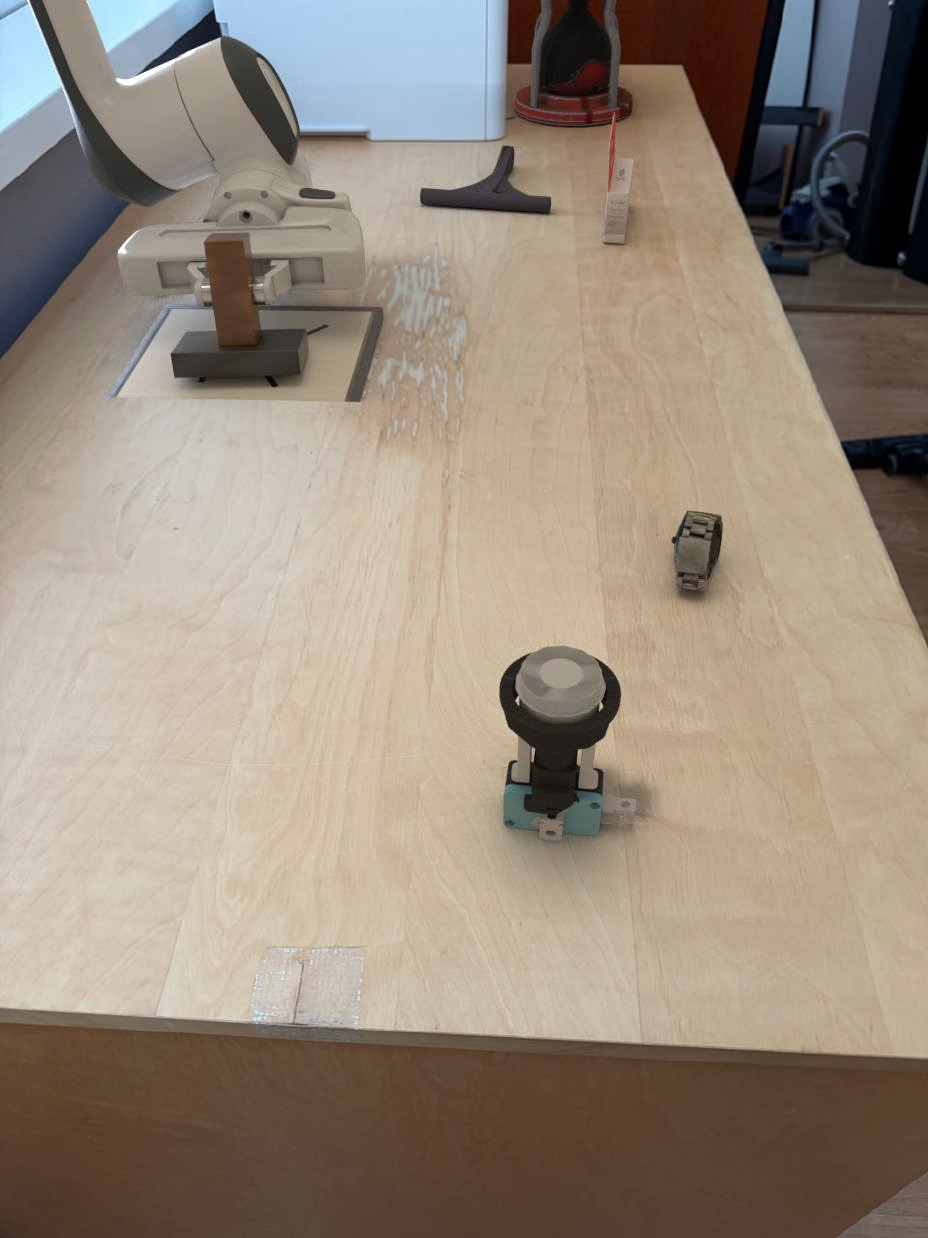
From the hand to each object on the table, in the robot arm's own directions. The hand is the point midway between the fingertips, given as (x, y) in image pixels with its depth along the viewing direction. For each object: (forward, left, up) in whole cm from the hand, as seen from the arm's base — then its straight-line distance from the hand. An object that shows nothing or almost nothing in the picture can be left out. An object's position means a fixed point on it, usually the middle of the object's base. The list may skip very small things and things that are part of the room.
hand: (233, 296), depth 81 cm
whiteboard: (0, +1, -7) cm, 7 cm away
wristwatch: (+34, -24, -7) cm, 42 cm away
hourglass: (+28, +77, -7) cm, 82 cm away
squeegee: (+19, +46, -7) cm, 50 cm away
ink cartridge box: (+32, +35, -7) cm, 48 cm away
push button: (+26, -44, -7) cm, 52 cm away
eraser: (0, 0, -6) cm, 6 cm away
